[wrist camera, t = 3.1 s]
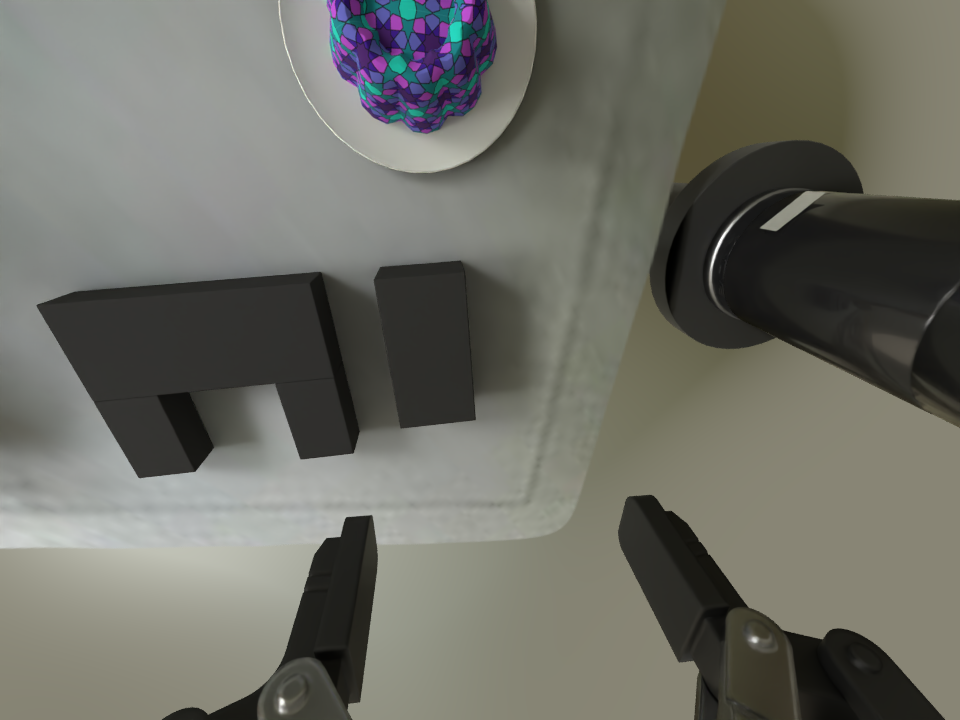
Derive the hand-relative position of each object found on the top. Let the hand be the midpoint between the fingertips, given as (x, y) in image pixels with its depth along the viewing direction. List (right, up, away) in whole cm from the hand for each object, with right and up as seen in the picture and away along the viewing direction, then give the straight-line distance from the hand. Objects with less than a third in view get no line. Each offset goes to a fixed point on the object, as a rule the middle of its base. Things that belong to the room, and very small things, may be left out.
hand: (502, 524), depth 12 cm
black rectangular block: (-4, +7, +14) cm, 16 cm away
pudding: (-4, +21, +7) cm, 23 cm away
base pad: (-17, +4, +14) cm, 22 cm away
